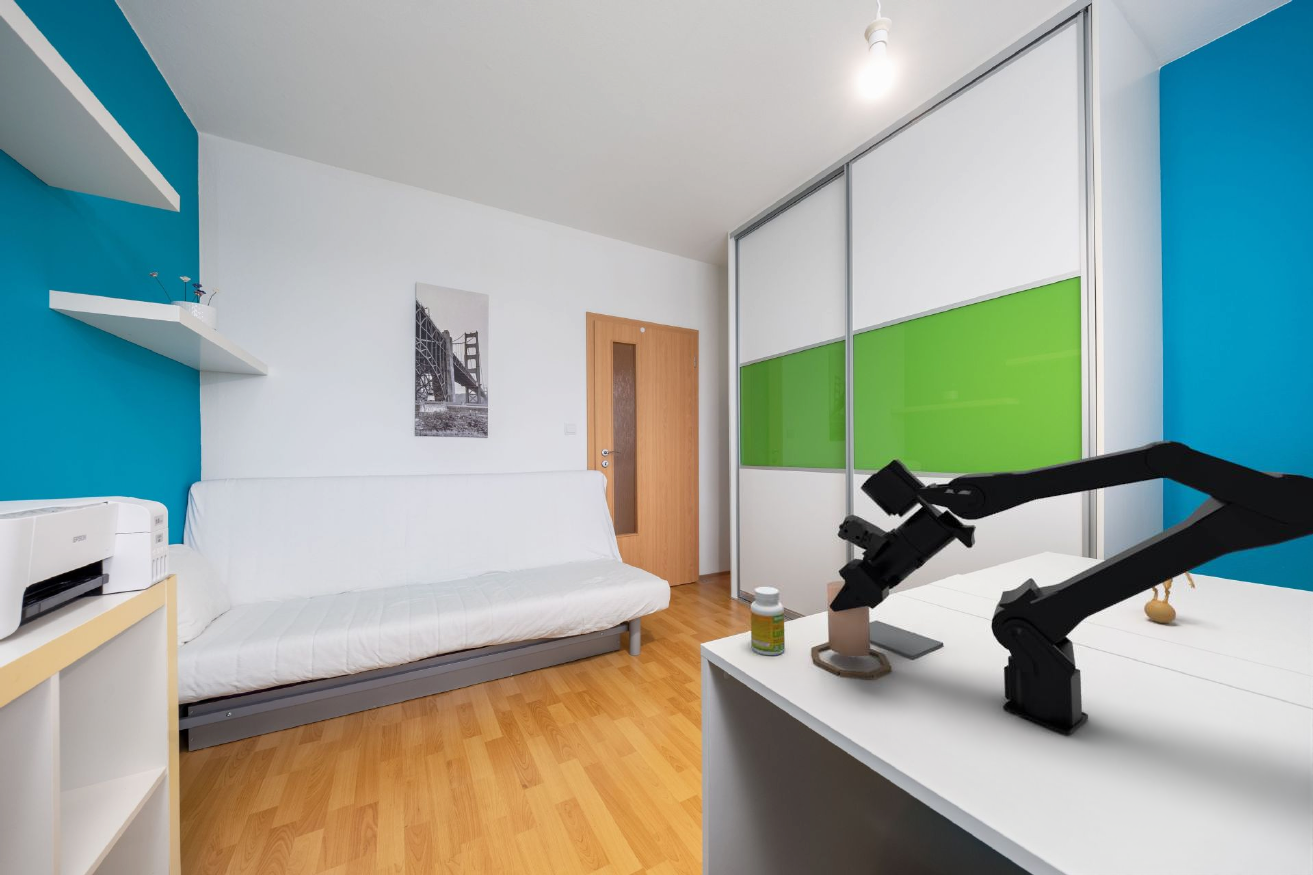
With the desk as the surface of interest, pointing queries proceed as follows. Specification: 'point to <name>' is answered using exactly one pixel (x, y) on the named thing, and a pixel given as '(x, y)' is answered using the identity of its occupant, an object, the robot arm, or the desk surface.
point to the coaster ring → (850, 673)
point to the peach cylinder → (847, 626)
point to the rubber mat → (901, 640)
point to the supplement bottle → (767, 622)
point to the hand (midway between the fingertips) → (838, 603)
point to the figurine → (1163, 604)
